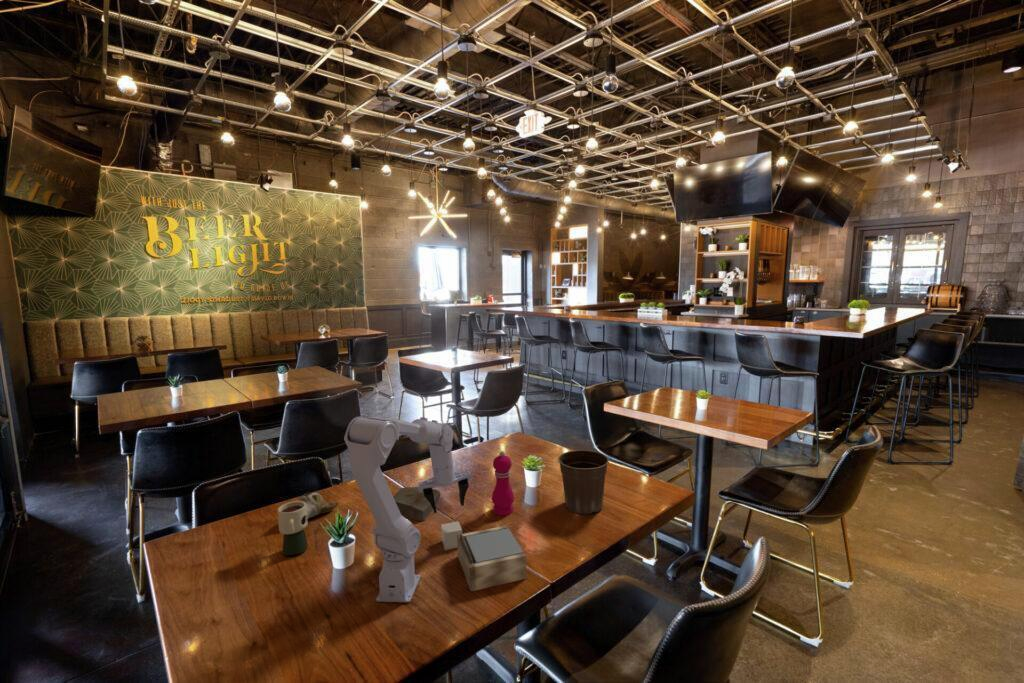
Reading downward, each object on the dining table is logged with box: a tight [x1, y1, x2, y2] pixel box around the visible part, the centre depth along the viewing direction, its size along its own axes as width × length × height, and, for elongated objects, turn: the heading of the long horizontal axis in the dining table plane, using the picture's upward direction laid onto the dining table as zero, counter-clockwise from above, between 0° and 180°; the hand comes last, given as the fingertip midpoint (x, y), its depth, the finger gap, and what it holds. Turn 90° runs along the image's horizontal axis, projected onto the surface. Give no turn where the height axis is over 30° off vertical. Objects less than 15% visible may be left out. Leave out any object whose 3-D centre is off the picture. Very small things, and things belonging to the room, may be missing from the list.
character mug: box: [277, 500, 309, 556], centre depth 124 cm, size 11×7×13 cm, turn 22°
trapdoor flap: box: [466, 527, 525, 564], centre depth 115 cm, size 12×12×1 cm
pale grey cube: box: [440, 520, 463, 551], centre depth 126 cm, size 5×5×5 cm
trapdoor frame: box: [457, 525, 527, 592], centre depth 115 cm, size 14×15×7 cm
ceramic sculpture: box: [299, 491, 339, 520], centre depth 143 cm, size 11×9×15 cm
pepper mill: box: [491, 450, 515, 517], centre depth 143 cm, size 7×7×20 cm
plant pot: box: [557, 449, 610, 515], centre depth 146 cm, size 16×16×16 cm
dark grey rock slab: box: [392, 486, 441, 522], centre depth 148 cm, size 17×15×4 cm
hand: (448, 507), depth 126 cm, fingers open, 7 cm apart
